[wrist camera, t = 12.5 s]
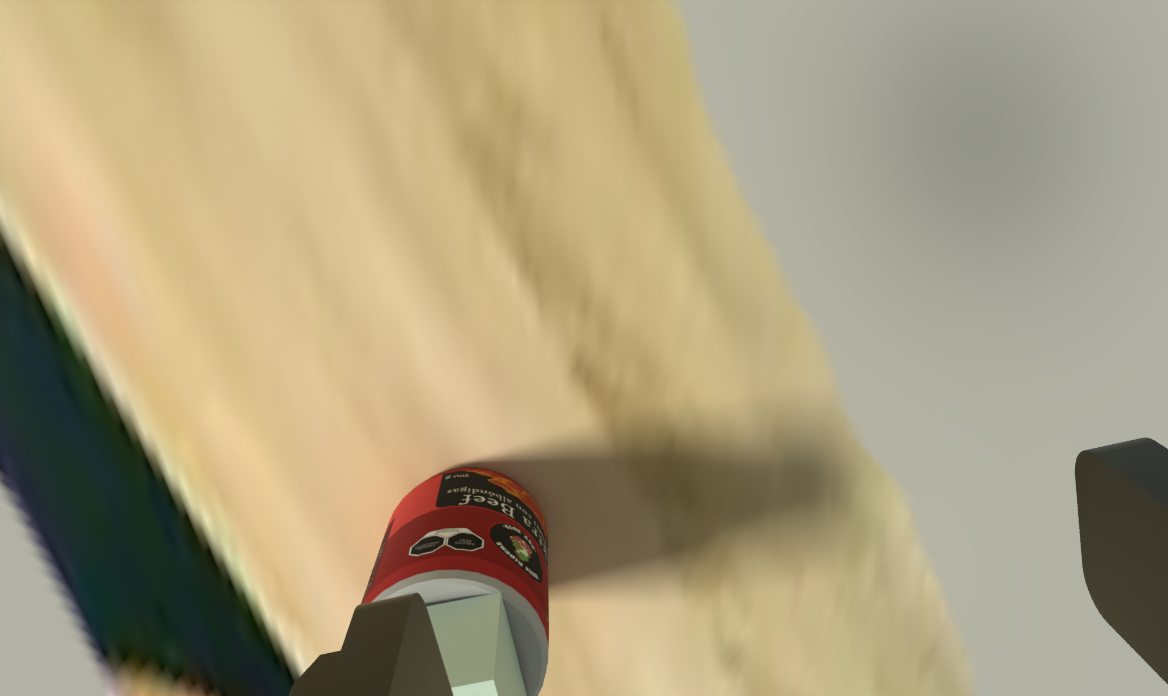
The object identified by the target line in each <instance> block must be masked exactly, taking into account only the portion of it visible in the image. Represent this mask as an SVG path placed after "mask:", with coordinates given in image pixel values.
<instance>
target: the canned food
mask: <svg viewBox="0 0 1168 696" xmlns="http://www.w3.org/2000/svg"><path fill="white" fill-rule="evenodd" d="M499 592H501V595H502V599H503V603H504V607H505V611H506V615H507V619H508V623H509V626H510V630H511V634H512V638H513V642H514V646H515V650H516V654H517V658H518V662H519V666H520V670H521V674H522V678H523V682H524V686H525V690H526V694H527V696H538V694H539V692H540V690H541V688H542V685H543V681H544V677H545V673H546V668H547V664H548V646H549V604H548V533H547V528H546V524H545V520H544V517H543V515H542V513H541V511H540V509H539V507H538V505H537V504H536V503H535V502H534V500H533V499H532V498H531V496H530V495H529V494H528V493H527V491H525V490H524V489H523V488H522V487H521V486H520V485H519V484H517V483H516V482H515V481H513V480H511V479H509V478H508V477H506V476H504V475H502V474H499V473H496V472H493V471H490V470H483V469H477V468H465V469H456V470H451V471H446V472H443V473H441V474H438V475H436V476H433V477H431V478H429V479H428V480H426V481H425V482H423V483H421V484H420V485H418V486H417V487H415V488H414V489H413V490H412V491H411V492H410V493H409V494H408V495H406V496H405V497H404V498H403V499H402V501H401V502H400V503H399V505H398V506H397V508H396V509H395V510H394V512H393V515H392V517H391V519H390V522H389V524H388V527H387V530H386V532H385V535H384V538H383V541H382V544H381V547H380V550H379V553H378V556H377V559H376V562H375V565H374V567H373V570H372V573H371V576H370V579H369V582H368V585H367V588H366V591H365V594H364V597H363V600H362V602H361V604H365V603H370V602H375V601H379V600H384V599H389V598H393V597H398V596H403V595H407V594H412V593H419V594H420V595H421V597H422V598H423V600H424V602H425V605H426V607H427V606H432V605H437V604H442V603H448V602H453V601H458V600H463V599H468V598H473V597H478V596H483V595H488V594H494V593H499Z"/></svg>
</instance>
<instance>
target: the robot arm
mask: <svg viewBox="0 0 1168 696" xmlns="http://www.w3.org/2000/svg"><path fill="white" fill-rule="evenodd" d="M1075 478H1076V479H1075V480H1076V491H1077V504H1078V517H1079V529H1080V541H1081V554H1082V565H1083V573H1084V577H1085V581H1086V585H1087V587H1088V590H1089V593H1090V595H1091V598H1092V600H1093V602H1094V604H1095V606H1096V607H1097V609H1098V611H1099V613H1100V614H1101V615H1102V617H1103V618H1104V619H1105V620H1106V621H1107V623H1108V624H1109V625H1110V626H1111V627H1112V628H1113V629H1114V630H1115V631H1116V632H1117V633H1118V634H1119V635H1120V636H1121V637H1122V638H1123V639H1124V640H1125V641H1126V642H1127V643H1128V644H1129V645H1130V646H1131V647H1132V648H1133V649H1134V650H1135V651H1136V652H1137V653H1138V654H1139V655H1140V656H1141V657H1142V658H1143V659H1144V660H1145V661H1146V663H1148V665H1149V666H1151V668H1152V669H1153V670H1154V671H1155V672H1156V673H1157V674H1158V675H1159V676H1160V677H1161V678H1162V679H1163V680H1164V681H1165V682H1166V683H1167V684H1168V449H1167V448H1165V447H1164V446H1162V445H1160V444H1159V443H1157V442H1156V441H1154V440H1152V439H1150V438H1140V439H1136V440H1131V441H1126V442H1122V443H1117V444H1112V445H1108V446H1103V447H1098V448H1094V449H1089V450H1084V451H1082V452H1080V454H1079V455H1078V457H1077V459H1076V464H1075ZM289 696H453V692H452V689H451V686H450V683H449V679H448V676H447V673H446V669H445V666H444V663H443V659H442V656H441V653H440V650H439V646H438V643H437V640H436V636H435V633H434V630H433V626H432V623H431V620H430V617H429V613H428V610H427V607H426V605H425V602H424V600H423V598H422V597H421V595H420V594H419V593H412V594H407V595H403V596H398V597H393V598H389V599H384V600H379V601H375V602H370V603H365V604H361V605H358V606H357V607H356V609H355V611H354V614H353V617H352V619H351V622H350V625H349V628H348V631H347V634H346V637H345V640H344V643H343V646H342V649H341V651H337V652H332V653H327V654H323V655H320V656H319V657H318V658H317V659H316V660H315V661H314V662H313V663H312V665H311V666H310V667H309V668H308V669H307V670H306V671H305V672H304V673H303V674H302V676H301V677H300V678H299V679H298V680H297V681H296V682H295V683H294V684H293V686H292V688H291V691H290V693H289Z"/></svg>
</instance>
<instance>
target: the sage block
mask: <svg viewBox="0 0 1168 696" xmlns="http://www.w3.org/2000/svg"><path fill="white" fill-rule="evenodd" d="M427 610H428V613H429V617H430V620H431V623H432V626H433V630H434V633H435V636H436V640H437V643H438V646H439V650H440V653H441V656H442V659H443V663H444V666H445V669H446V673H447V676H448V679H449V683H450V686H451V689H452V692H453V696H527V694H526V690H525V686H524V682H523V678H522V674H521V670H520V666H519V662H518V658H517V654H516V650H515V646H514V642H513V638H512V634H511V630H510V626H509V623H508V619H507V615H506V611H505V607H504V603H503V599H502V595H501V592H499V593H494V594H488V595H483V596H478V597H473V598H468V599H463V600H458V601H453V602H448V603H442V604H437V605H432V606H427Z"/></svg>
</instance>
